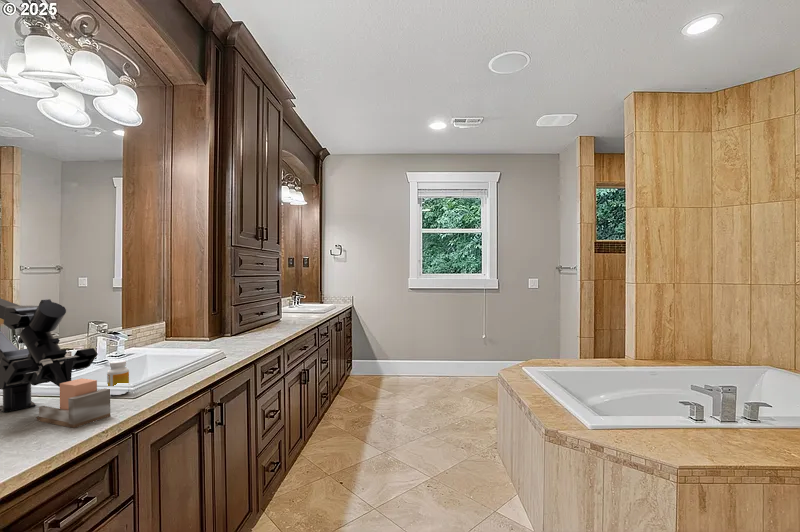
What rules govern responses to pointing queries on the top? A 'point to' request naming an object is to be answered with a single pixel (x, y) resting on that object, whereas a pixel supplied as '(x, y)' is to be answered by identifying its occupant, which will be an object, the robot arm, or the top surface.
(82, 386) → the peach knobbed cube
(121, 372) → the supplement bottle
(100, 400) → the rail
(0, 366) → the robot arm
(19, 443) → the top surface
